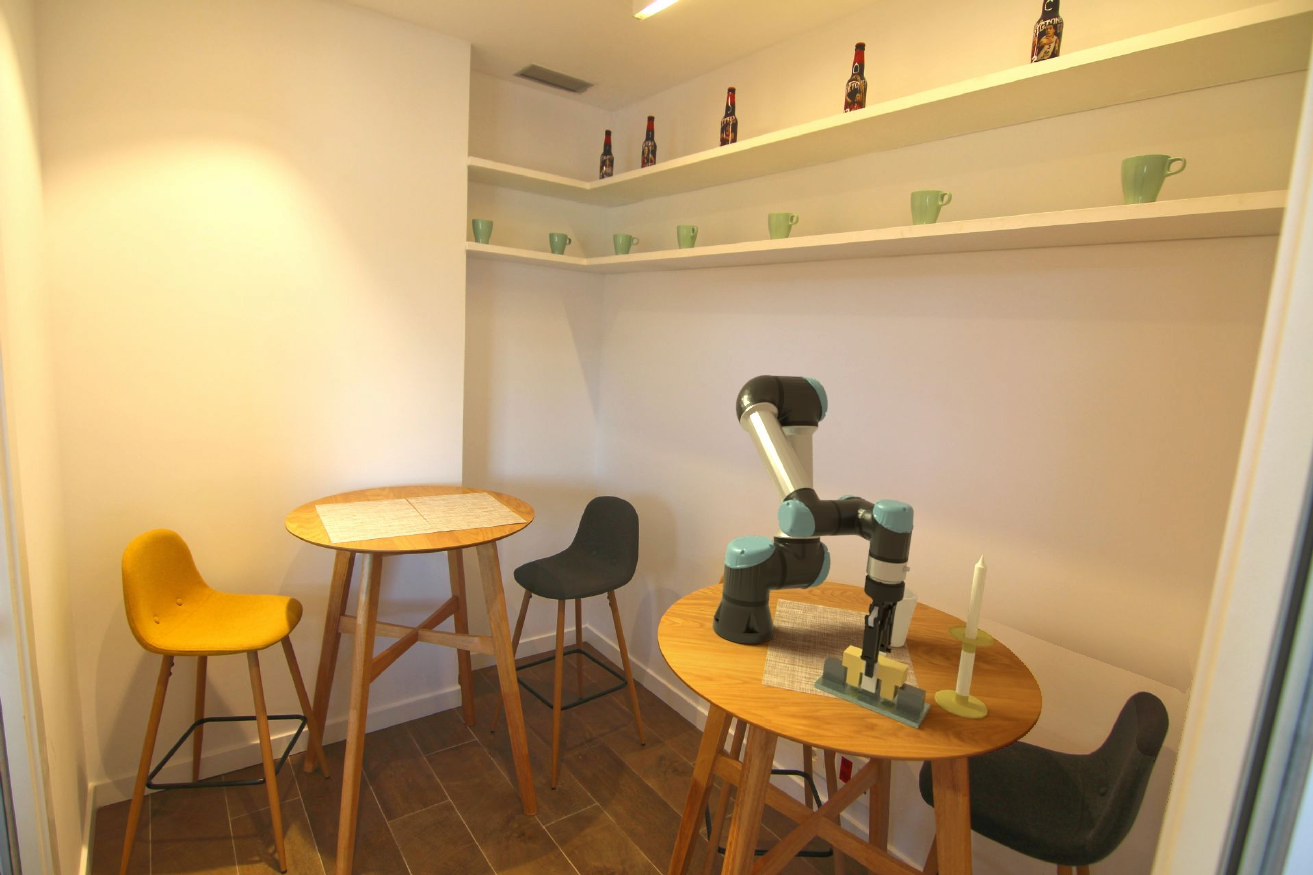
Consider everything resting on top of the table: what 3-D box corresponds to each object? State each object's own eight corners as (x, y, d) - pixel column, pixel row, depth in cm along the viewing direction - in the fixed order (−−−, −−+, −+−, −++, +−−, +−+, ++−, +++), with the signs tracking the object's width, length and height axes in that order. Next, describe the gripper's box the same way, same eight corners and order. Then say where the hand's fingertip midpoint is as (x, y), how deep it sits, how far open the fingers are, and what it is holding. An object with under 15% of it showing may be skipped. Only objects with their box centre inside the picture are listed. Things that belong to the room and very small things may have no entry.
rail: (814, 686, 130) (816, 664, 130) (830, 670, 137) (832, 649, 137) (917, 728, 118) (920, 704, 117) (929, 708, 125) (932, 685, 124)
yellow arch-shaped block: (840, 680, 129) (843, 651, 128) (847, 673, 132) (850, 645, 131) (898, 703, 122) (902, 672, 121) (904, 695, 125) (908, 665, 124)
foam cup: (914, 652, 149) (921, 601, 147) (874, 646, 151) (880, 596, 149) (906, 635, 158) (912, 587, 156) (868, 629, 160) (874, 582, 158)
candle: (963, 722, 121) (987, 564, 116) (923, 695, 130) (944, 547, 125) (999, 713, 125) (1023, 560, 120) (957, 687, 134) (978, 544, 129)
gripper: (891, 594, 115) (876, 710, 118) (916, 571, 128) (902, 675, 132) (852, 583, 119) (839, 694, 123) (880, 562, 133) (868, 663, 136)
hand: (872, 684), depth 127 cm, fingers closed on yellow arch-shaped block, 4 cm apart
